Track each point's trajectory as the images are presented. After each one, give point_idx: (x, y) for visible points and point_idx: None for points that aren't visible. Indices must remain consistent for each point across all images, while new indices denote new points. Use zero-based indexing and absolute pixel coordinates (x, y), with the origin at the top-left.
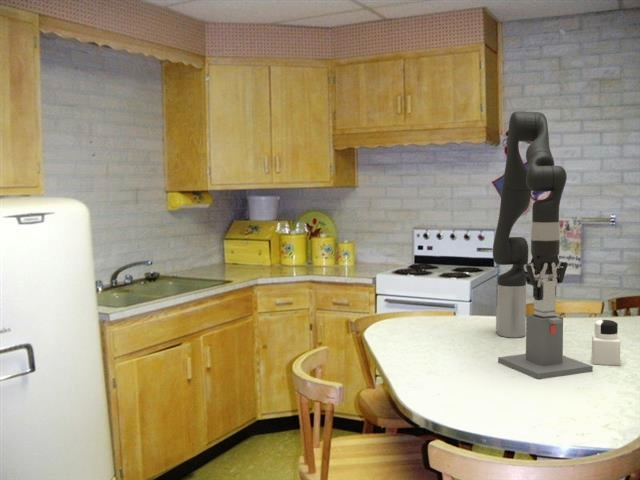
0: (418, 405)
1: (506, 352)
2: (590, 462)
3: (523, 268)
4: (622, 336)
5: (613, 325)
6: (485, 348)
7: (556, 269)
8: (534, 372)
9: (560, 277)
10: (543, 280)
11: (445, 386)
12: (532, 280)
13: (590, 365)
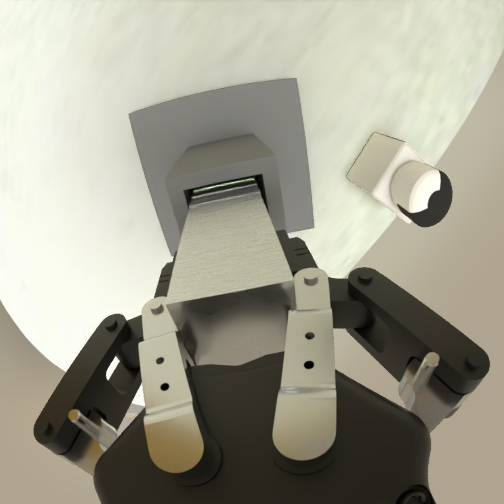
0: (14, 313)
1: (196, 25)
2: None
3: (48, 419)
4: (488, 44)
5: (428, 226)
6: None
7: (413, 336)
8: (168, 245)
9: (363, 344)
10: (228, 338)
11: (26, 258)
12: (125, 379)
13: (312, 223)
